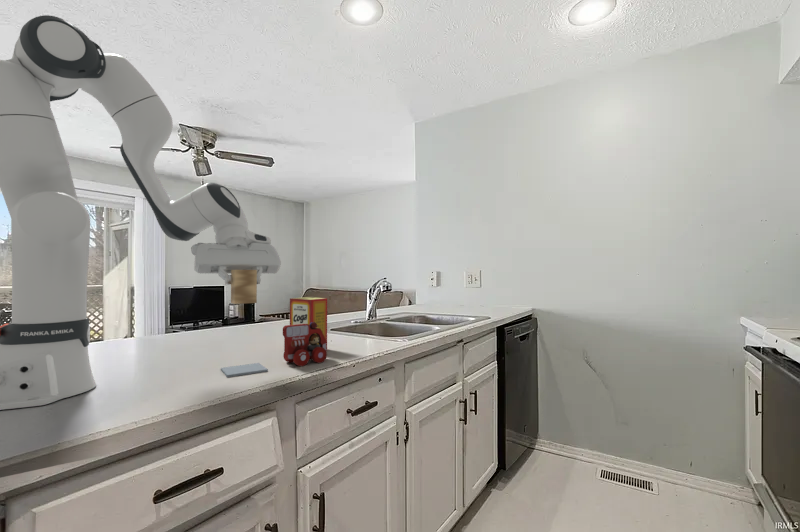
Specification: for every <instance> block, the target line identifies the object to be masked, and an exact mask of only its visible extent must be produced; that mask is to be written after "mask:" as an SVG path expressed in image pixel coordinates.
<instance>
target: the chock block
mask: <svg viewBox="0 0 800 532" xmlns="http://www.w3.org/2000/svg"><path fill="white" fill-rule="evenodd" d="M230 275H232V278H233V282H232V284H230V303H231V304H233V305H239V304H241V305H242V304H258V303H257V295H258V294H257V293H258V292H257V291H258V288H257V287H258V286H257V285H258V284H257V270H231V273H230Z"/></svg>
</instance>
